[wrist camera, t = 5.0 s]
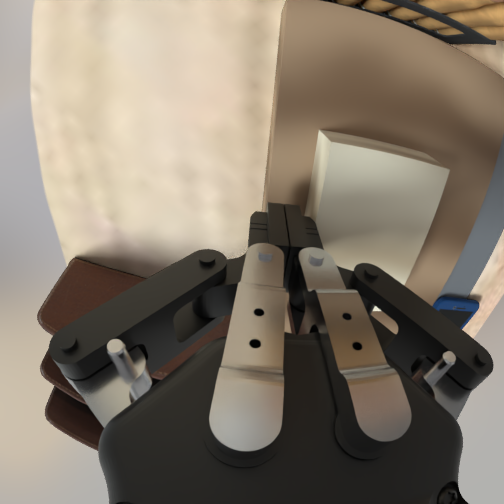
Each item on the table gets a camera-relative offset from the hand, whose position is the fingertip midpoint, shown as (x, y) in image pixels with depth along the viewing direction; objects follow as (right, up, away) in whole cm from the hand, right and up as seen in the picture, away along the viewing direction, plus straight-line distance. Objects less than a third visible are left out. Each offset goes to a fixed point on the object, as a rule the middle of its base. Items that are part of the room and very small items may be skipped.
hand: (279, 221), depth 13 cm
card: (+4, 0, 0) cm, 4 cm away
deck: (+7, +3, +5) cm, 8 cm away
